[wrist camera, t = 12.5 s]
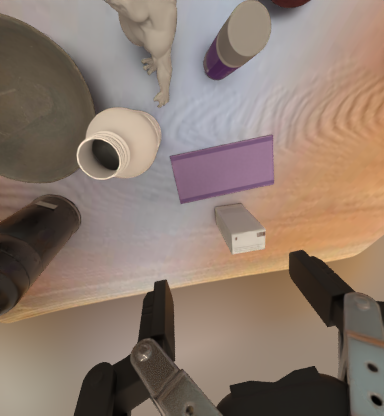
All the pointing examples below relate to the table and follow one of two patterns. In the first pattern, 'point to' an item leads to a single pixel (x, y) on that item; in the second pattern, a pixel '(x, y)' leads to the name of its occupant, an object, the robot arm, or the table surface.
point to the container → (238, 39)
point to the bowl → (39, 106)
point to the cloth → (224, 169)
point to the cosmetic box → (239, 229)
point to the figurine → (151, 35)
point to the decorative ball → (289, 3)
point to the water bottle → (119, 144)
